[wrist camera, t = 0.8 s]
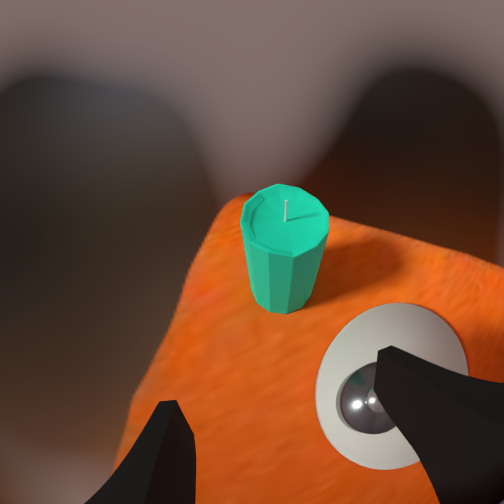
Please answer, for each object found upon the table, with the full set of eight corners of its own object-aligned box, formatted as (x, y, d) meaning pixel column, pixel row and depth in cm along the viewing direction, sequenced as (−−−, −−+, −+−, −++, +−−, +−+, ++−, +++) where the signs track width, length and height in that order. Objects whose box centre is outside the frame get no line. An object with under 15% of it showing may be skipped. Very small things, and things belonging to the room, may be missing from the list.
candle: (248, 262, 29) (234, 174, 18) (305, 255, 29) (320, 166, 18) (254, 318, 25) (241, 246, 15) (317, 309, 25) (346, 234, 15)
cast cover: (406, 416, 18) (423, 415, 15) (344, 442, 17) (354, 446, 15) (389, 357, 21) (403, 349, 18) (327, 378, 21) (335, 374, 18)
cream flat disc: (474, 420, 17) (481, 419, 16) (335, 492, 16) (338, 495, 15) (432, 289, 25) (437, 284, 24) (295, 333, 24) (296, 329, 23)
